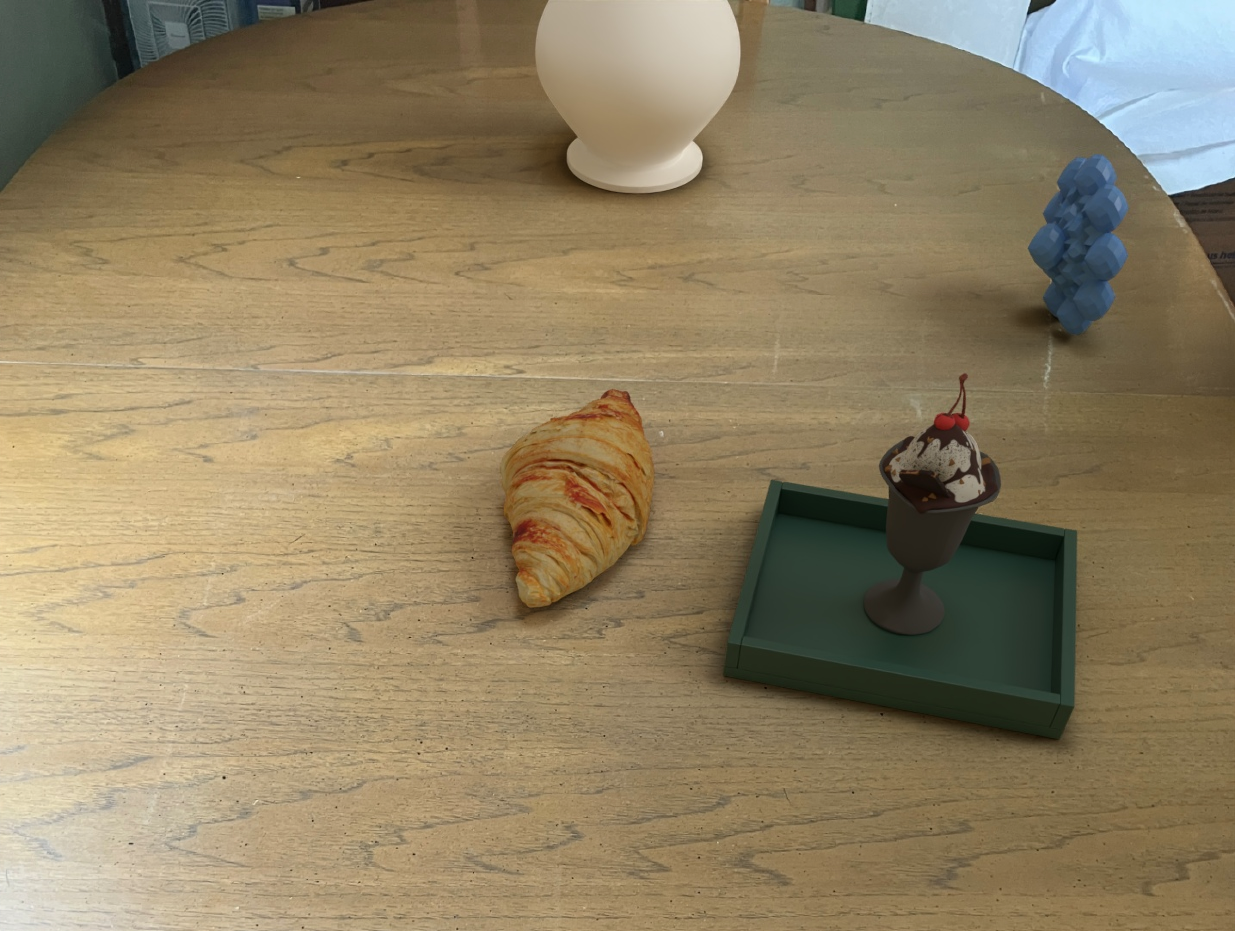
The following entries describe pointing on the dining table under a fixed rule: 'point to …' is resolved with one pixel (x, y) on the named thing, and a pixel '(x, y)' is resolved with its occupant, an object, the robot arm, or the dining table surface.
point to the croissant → (577, 496)
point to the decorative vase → (637, 84)
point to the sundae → (928, 515)
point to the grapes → (1081, 243)
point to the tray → (896, 663)
